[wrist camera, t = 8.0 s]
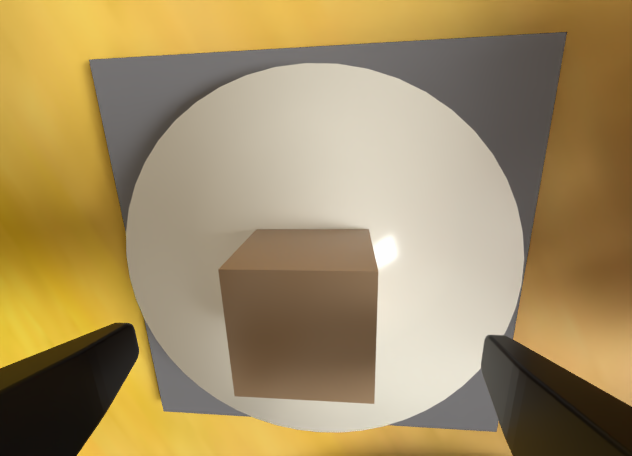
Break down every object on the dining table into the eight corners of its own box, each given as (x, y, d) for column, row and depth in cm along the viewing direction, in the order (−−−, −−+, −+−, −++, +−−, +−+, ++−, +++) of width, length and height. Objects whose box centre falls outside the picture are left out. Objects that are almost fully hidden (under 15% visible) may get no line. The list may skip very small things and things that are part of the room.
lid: (175, 400, 16) (105, 508, 11) (112, 80, 11) (-41, 46, 7) (481, 418, 14) (544, 550, 10) (537, 59, 10) (693, -2, 5)
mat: (169, 401, 16) (163, 411, 16) (101, 63, 12) (88, 59, 11) (490, 420, 15) (496, 431, 14) (554, 37, 10) (566, 31, 10)
